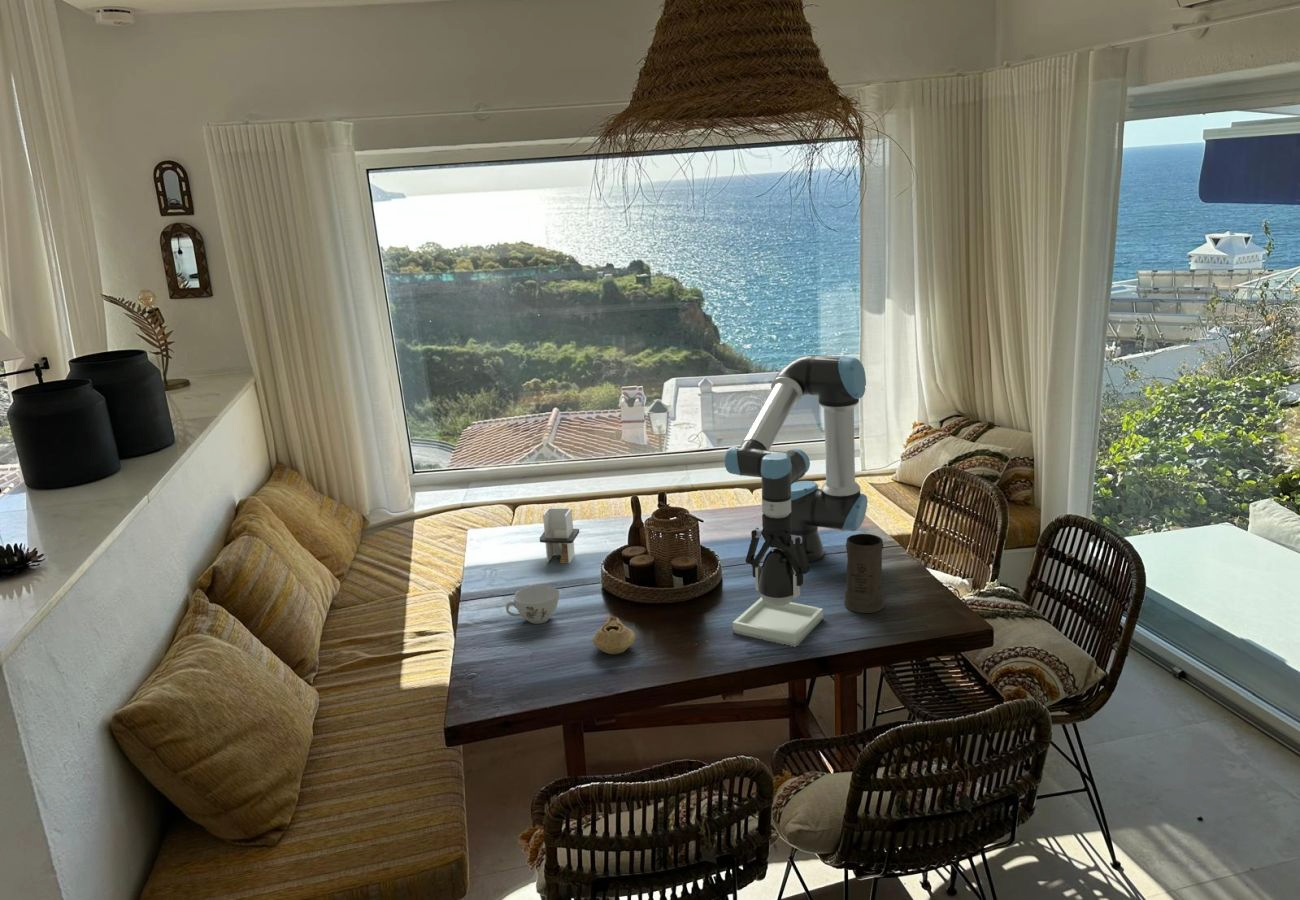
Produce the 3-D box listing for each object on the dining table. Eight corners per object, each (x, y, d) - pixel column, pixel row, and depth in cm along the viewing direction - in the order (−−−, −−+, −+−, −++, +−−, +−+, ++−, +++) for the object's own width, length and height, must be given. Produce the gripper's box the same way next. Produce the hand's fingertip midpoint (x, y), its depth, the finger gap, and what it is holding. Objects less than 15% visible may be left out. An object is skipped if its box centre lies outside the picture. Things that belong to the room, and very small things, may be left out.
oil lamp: (627, 631, 254) (626, 604, 252) (641, 657, 240) (639, 628, 238) (587, 638, 251) (585, 610, 249) (598, 664, 237) (596, 635, 235)
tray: (762, 605, 264) (762, 596, 264) (822, 618, 255) (822, 608, 254) (732, 632, 250) (732, 622, 249) (795, 647, 240) (795, 636, 240)
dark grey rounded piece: (767, 613, 244) (766, 558, 240) (752, 597, 254) (751, 544, 250) (804, 607, 247) (803, 553, 243) (787, 591, 256) (787, 539, 252)
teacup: (555, 606, 271) (553, 580, 269) (565, 624, 260) (563, 598, 257) (503, 616, 267) (501, 590, 265) (511, 634, 255) (508, 607, 253)
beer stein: (884, 615, 255) (885, 544, 250) (844, 613, 257) (844, 543, 253) (882, 595, 269) (883, 528, 265) (844, 593, 272) (844, 527, 267)
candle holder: (512, 573, 296) (508, 525, 292) (534, 544, 319) (530, 499, 315) (590, 575, 292) (586, 525, 287) (606, 545, 315) (603, 499, 310)
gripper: (730, 511, 246) (733, 589, 253) (812, 524, 235) (812, 606, 241) (743, 503, 253) (745, 579, 259) (823, 515, 241) (823, 595, 247)
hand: (777, 592), depth 250 cm, fingers closed on dark grey rounded piece, 10 cm apart
